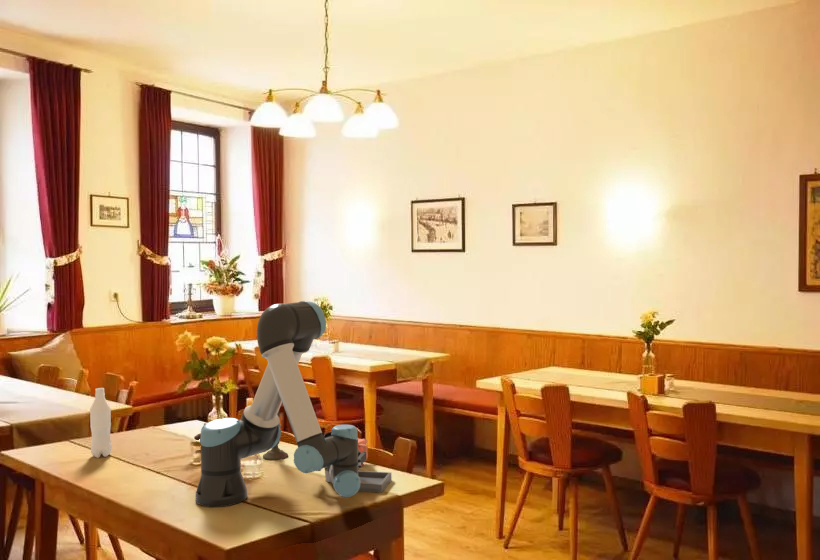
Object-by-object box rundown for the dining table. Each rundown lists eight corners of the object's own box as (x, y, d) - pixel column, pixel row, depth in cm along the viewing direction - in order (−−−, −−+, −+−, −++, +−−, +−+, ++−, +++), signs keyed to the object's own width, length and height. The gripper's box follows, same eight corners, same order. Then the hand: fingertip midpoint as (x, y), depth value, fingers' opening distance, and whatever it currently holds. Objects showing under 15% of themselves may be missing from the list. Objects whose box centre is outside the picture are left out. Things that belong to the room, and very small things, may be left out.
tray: (381, 492, 227) (381, 484, 227) (342, 490, 229) (342, 482, 229) (391, 480, 239) (391, 472, 239) (354, 477, 242) (354, 470, 242)
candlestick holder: (276, 461, 261) (275, 377, 260) (257, 458, 266) (256, 375, 265) (293, 455, 269) (292, 374, 268) (274, 452, 274) (273, 372, 273)
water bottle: (88, 455, 271) (86, 388, 270) (107, 452, 276) (106, 386, 275) (94, 459, 266) (93, 391, 265) (114, 455, 271) (113, 388, 270)
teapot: (334, 460, 263) (333, 432, 262) (367, 459, 264) (367, 431, 263) (333, 472, 249) (332, 442, 248) (368, 471, 249) (367, 441, 249)
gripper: (300, 485, 219) (296, 465, 240) (381, 479, 225) (369, 460, 246) (300, 460, 219) (295, 442, 240) (380, 455, 224) (369, 437, 245)
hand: (333, 451), depth 243 cm, fingers open, 12 cm apart
